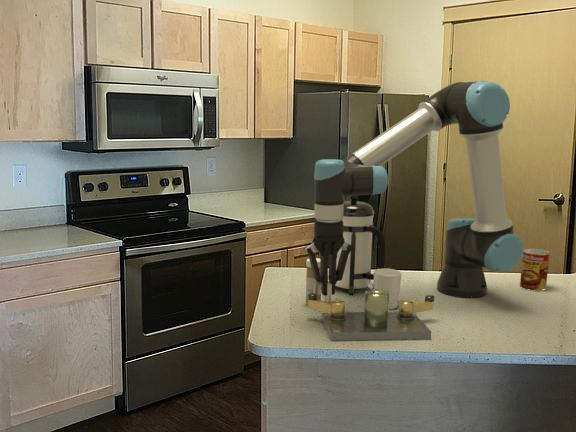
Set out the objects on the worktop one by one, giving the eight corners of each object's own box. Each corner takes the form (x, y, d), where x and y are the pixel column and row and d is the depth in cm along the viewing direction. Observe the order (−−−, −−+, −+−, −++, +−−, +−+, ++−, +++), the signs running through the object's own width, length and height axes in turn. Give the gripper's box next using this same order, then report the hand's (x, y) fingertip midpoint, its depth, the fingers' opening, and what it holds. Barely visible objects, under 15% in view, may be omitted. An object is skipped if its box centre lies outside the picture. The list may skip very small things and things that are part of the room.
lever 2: (436, 313, 170) (437, 297, 169) (404, 319, 164) (405, 303, 163) (427, 309, 173) (428, 293, 172) (395, 315, 167) (396, 299, 166)
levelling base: (412, 318, 171) (415, 281, 170) (430, 339, 157) (433, 298, 155) (321, 319, 169) (322, 281, 167) (331, 340, 154) (332, 298, 152)
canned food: (515, 286, 205) (518, 250, 203) (527, 282, 210) (531, 247, 208) (538, 292, 199) (541, 255, 197) (550, 288, 204) (554, 252, 202)
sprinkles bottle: (324, 306, 180) (325, 260, 178) (311, 308, 178) (312, 262, 175) (314, 301, 184) (316, 256, 182) (301, 304, 182) (303, 258, 179)
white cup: (401, 303, 185) (403, 270, 183) (396, 311, 177) (398, 277, 175) (375, 300, 187) (376, 267, 185) (369, 307, 180) (370, 273, 178)
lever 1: (312, 307, 172) (312, 292, 171) (347, 316, 165) (348, 301, 164) (304, 310, 169) (304, 295, 168) (339, 320, 162) (340, 304, 161)
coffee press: (324, 295, 190) (328, 196, 185) (327, 281, 206) (330, 189, 201) (382, 298, 188) (387, 199, 183) (381, 284, 204) (386, 191, 199)
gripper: (346, 215, 169) (344, 300, 174) (301, 218, 166) (301, 304, 170) (357, 220, 162) (355, 308, 167) (310, 223, 159) (309, 313, 163)
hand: (327, 306), depth 168 cm, fingers closed
